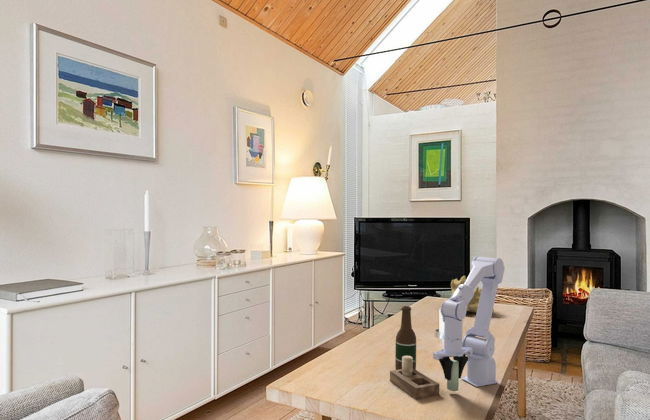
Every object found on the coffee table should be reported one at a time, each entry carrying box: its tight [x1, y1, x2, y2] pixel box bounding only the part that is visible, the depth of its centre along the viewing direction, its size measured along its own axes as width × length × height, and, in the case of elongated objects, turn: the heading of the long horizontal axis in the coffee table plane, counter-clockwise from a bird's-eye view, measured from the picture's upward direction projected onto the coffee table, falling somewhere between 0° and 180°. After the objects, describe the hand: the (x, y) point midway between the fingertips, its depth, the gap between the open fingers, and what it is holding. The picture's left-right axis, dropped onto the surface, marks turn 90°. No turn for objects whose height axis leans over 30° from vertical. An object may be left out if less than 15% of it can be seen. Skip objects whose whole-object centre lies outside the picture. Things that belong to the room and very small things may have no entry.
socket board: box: [389, 369, 440, 400], centre depth 152 cm, size 9×16×4 cm, turn 23°
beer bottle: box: [394, 305, 417, 370], centre depth 167 cm, size 8×8×24 cm
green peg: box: [446, 359, 460, 392], centre depth 147 cm, size 4×4×9 cm
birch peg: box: [402, 356, 413, 377], centre depth 156 cm, size 4×4×9 cm
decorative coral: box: [450, 275, 495, 314], centre depth 261 cm, size 26×22×25 cm
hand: (452, 378), depth 147 cm, fingers closed on green peg, 4 cm apart
